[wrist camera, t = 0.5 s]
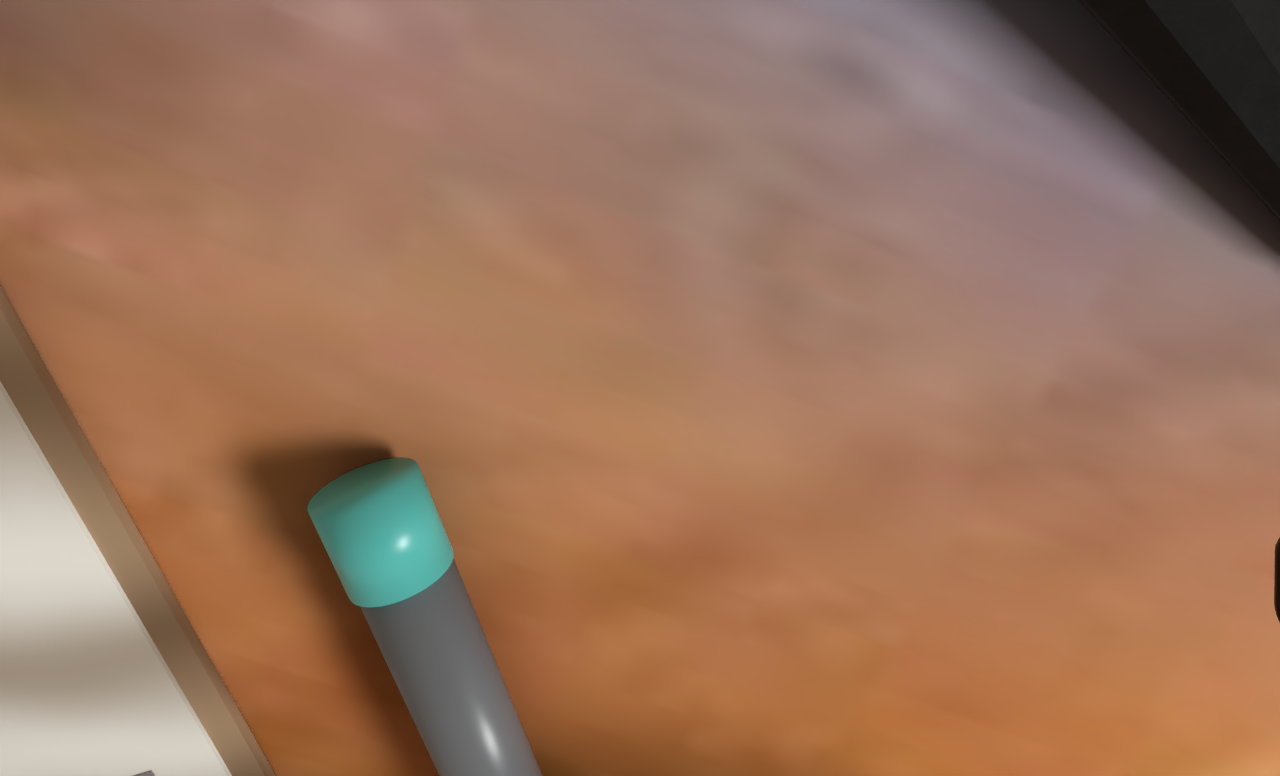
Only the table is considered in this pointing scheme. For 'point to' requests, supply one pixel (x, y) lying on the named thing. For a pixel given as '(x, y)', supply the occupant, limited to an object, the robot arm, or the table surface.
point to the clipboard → (91, 612)
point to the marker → (421, 617)
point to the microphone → (1213, 73)
